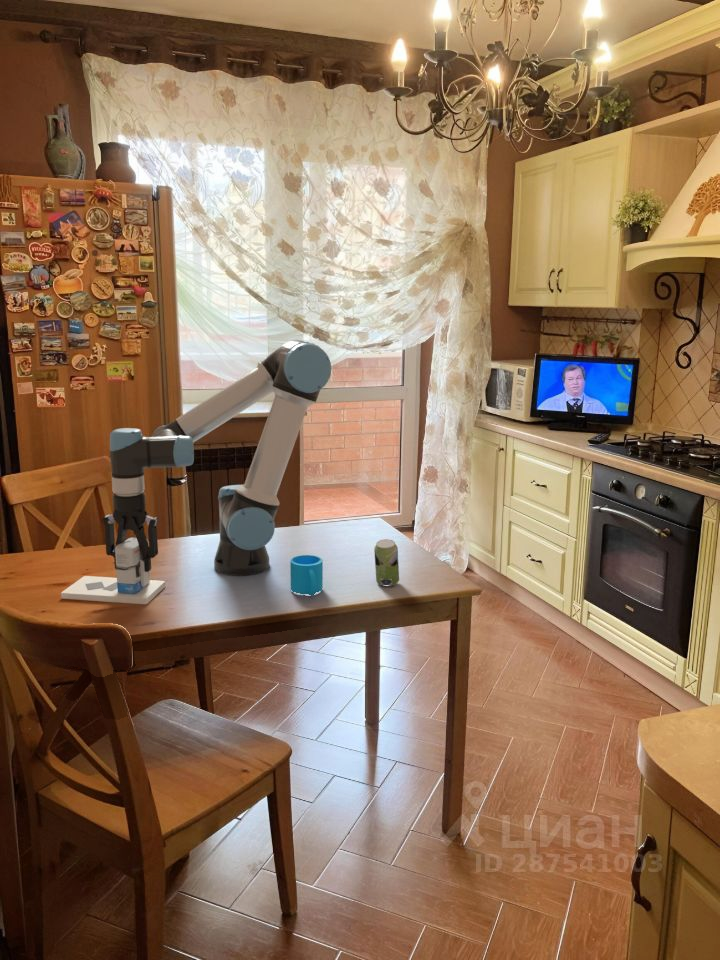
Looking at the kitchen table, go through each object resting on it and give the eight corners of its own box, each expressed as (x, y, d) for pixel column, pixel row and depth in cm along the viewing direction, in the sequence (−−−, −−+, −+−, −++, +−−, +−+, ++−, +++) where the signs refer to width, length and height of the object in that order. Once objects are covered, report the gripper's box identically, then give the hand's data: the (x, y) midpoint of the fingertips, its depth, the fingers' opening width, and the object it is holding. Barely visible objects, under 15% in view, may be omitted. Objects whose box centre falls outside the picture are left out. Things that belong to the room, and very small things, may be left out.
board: (165, 586, 195) (165, 580, 195) (146, 604, 184) (146, 598, 183) (84, 581, 198) (84, 575, 198) (61, 598, 186) (60, 592, 186)
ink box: (135, 594, 185) (132, 548, 183) (116, 592, 186) (113, 547, 183) (151, 582, 193) (148, 538, 191) (133, 580, 194) (130, 536, 192)
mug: (287, 586, 197) (287, 556, 195) (318, 583, 199) (318, 553, 197) (297, 603, 186) (297, 572, 184) (330, 600, 188) (330, 569, 186)
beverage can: (401, 581, 201) (403, 538, 198) (393, 591, 194) (395, 546, 192) (379, 578, 203) (380, 535, 200) (370, 588, 196) (371, 543, 194)
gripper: (170, 490, 187) (174, 579, 192) (100, 487, 189) (106, 575, 194) (158, 498, 179) (162, 590, 185) (86, 494, 182) (92, 585, 187)
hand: (133, 582), depth 189 cm, fingers closed on ink box, 5 cm apart
